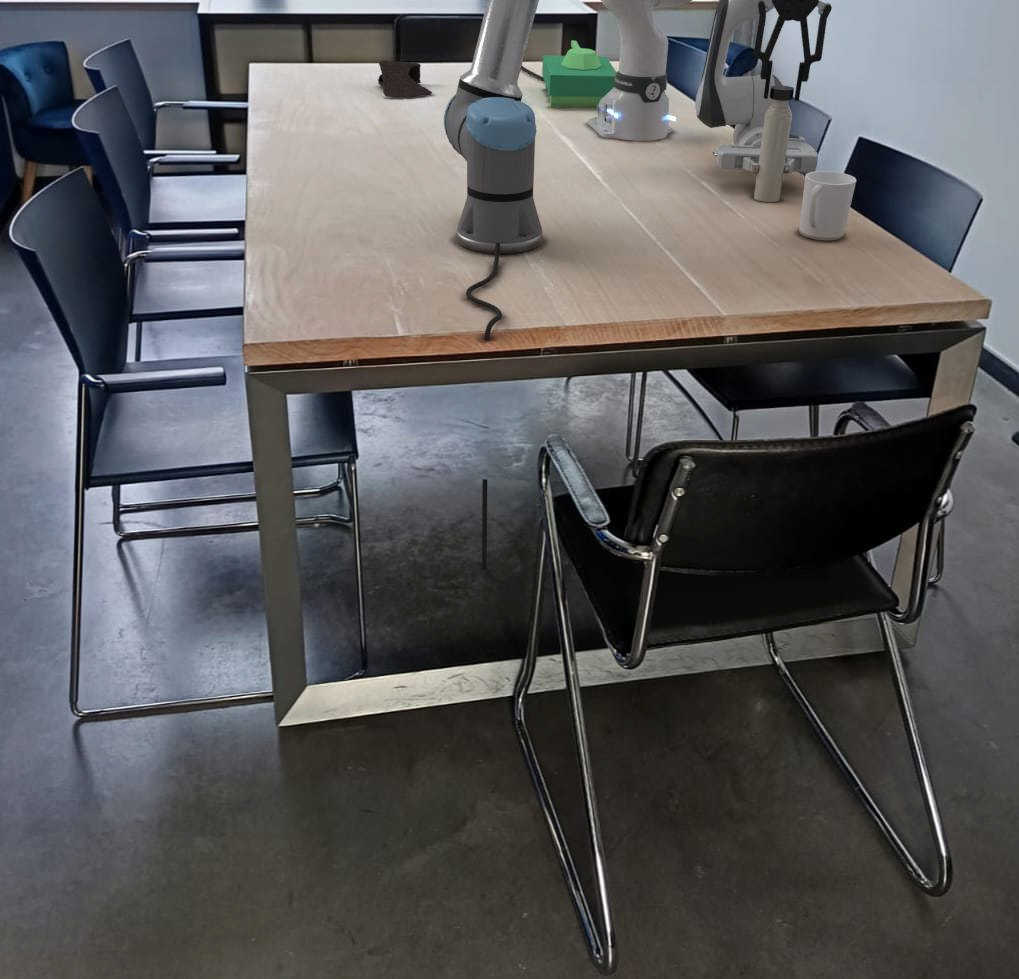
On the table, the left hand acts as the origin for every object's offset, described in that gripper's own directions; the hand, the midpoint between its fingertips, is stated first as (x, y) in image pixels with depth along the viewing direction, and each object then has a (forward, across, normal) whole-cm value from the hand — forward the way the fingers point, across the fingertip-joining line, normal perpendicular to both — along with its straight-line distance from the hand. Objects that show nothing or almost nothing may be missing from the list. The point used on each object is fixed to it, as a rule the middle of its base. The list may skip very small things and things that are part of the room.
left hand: (781, 97), depth 211 cm
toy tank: (+20, -51, +84) cm, 100 cm away
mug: (+20, +9, -22) cm, 31 cm away
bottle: (+20, 0, 0) cm, 20 cm away
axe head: (+20, -98, +77) cm, 126 cm away
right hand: (+13, 0, -1) cm, 14 cm away
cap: (-2, 0, 0) cm, 2 cm away
